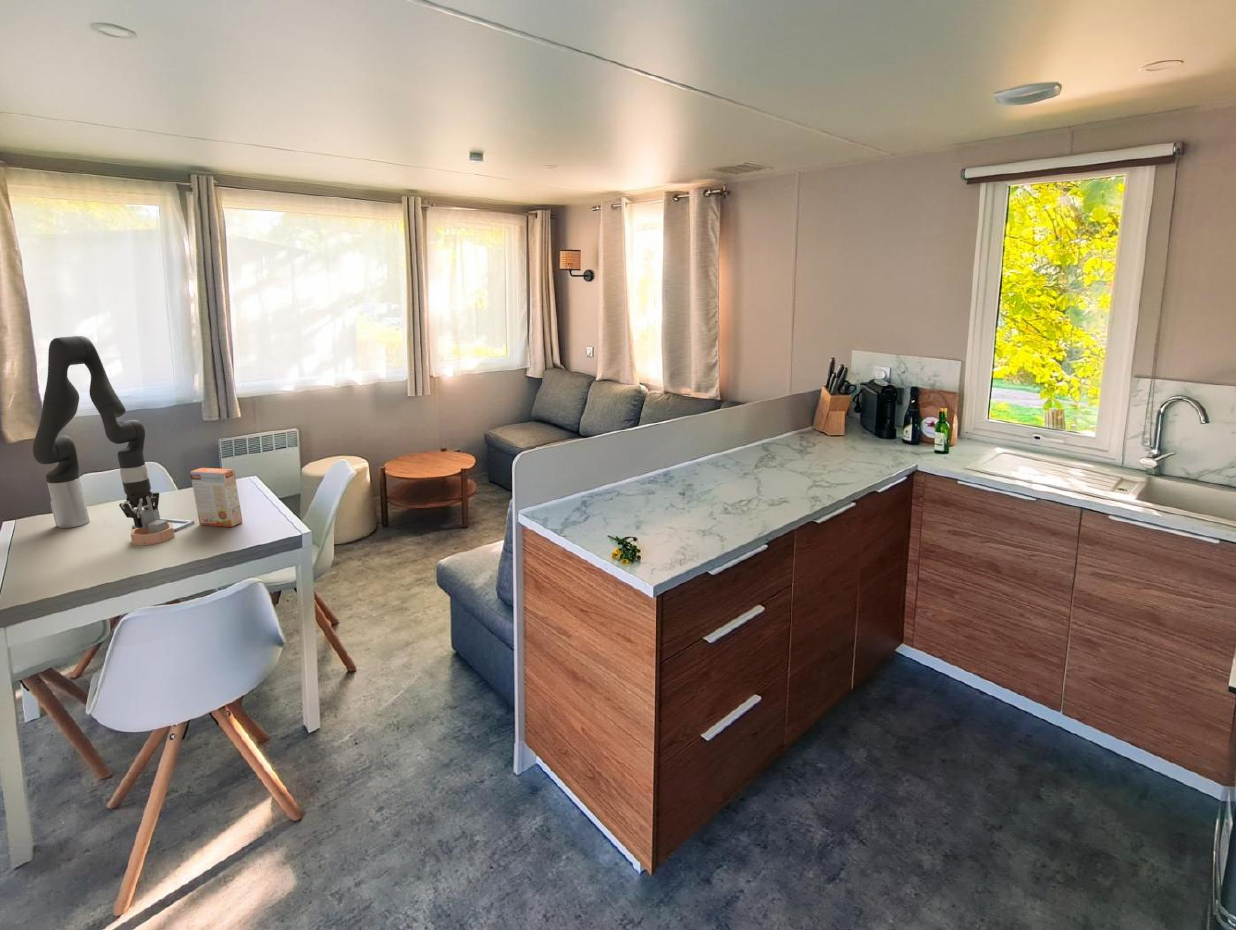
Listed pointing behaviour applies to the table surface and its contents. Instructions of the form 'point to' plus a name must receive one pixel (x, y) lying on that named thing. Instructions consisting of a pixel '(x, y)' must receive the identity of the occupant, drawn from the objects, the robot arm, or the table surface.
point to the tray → (176, 523)
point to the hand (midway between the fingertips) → (145, 525)
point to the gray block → (156, 514)
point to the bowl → (151, 536)
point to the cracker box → (216, 497)
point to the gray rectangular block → (146, 518)
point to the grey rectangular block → (157, 526)
